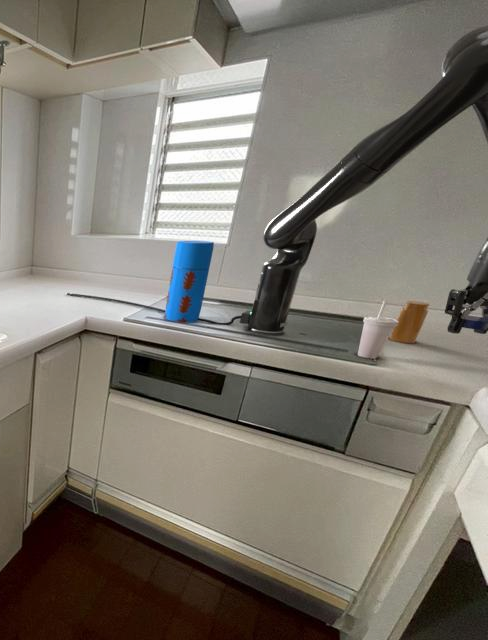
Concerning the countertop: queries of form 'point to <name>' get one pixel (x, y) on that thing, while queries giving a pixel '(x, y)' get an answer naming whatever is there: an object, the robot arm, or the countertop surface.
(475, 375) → the countertop surface
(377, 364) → the countertop surface
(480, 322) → the jam lid
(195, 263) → the thermos
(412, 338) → the jam jar
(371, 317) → the smoothie
